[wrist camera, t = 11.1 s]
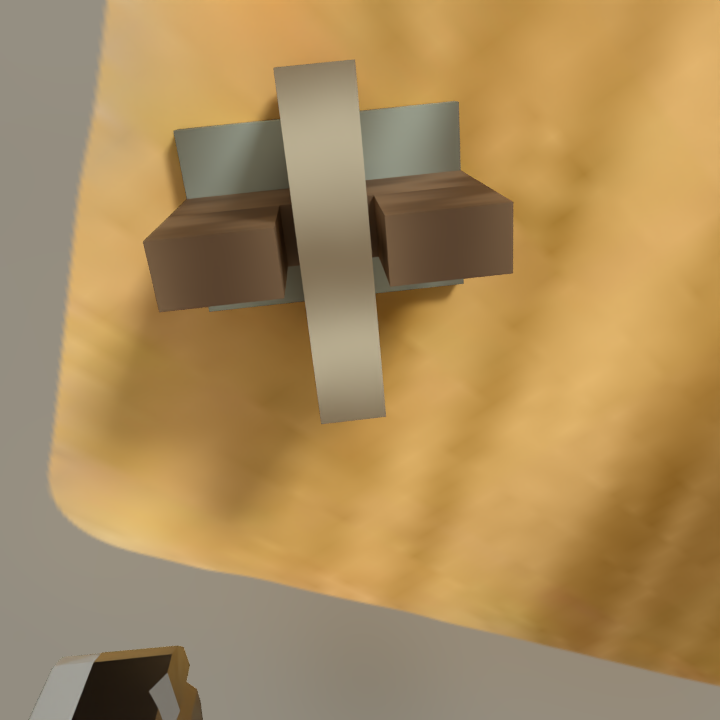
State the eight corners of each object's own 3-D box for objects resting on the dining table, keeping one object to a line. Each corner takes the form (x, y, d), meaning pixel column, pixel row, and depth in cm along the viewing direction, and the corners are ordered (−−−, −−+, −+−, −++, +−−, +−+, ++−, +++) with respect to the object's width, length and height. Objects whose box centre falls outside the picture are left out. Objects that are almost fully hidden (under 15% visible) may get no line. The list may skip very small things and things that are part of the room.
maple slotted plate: (283, 70, 26) (273, 67, 19) (342, 64, 26) (354, 59, 19) (318, 342, 31) (321, 424, 24) (368, 337, 31) (385, 416, 24)
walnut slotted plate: (454, 100, 28) (513, 109, 20) (459, 278, 31) (512, 348, 23) (177, 129, 27) (121, 150, 19) (211, 306, 31) (176, 386, 23)
